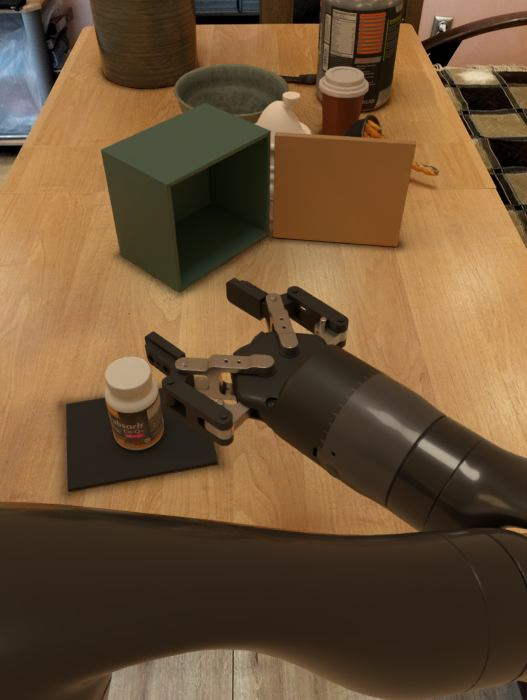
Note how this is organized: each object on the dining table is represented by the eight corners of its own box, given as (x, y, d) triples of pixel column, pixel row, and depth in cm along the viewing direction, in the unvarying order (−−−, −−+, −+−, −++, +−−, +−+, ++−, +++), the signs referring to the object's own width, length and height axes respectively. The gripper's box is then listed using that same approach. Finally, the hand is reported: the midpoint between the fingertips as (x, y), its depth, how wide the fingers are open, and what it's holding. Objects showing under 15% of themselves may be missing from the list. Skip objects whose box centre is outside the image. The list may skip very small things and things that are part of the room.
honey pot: (324, 187, 111) (332, 82, 98) (301, 227, 102) (307, 118, 89) (254, 173, 114) (253, 70, 101) (226, 211, 105) (222, 104, 92)
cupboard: (269, 234, 101) (270, 130, 89) (179, 292, 91) (166, 184, 78) (211, 203, 107) (205, 102, 95) (120, 255, 97) (100, 149, 85)
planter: (194, 90, 138) (187, -13, 124) (92, 89, 138) (72, -15, 124) (203, 51, 154) (198, -45, 139) (111, 50, 154) (96, -46, 140)
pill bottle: (106, 447, 71) (89, 387, 64) (126, 408, 75) (112, 348, 68) (154, 457, 70) (142, 397, 63) (172, 417, 74) (163, 357, 67)
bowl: (250, 104, 133) (249, 55, 126) (308, 146, 121) (311, 93, 114) (160, 129, 125) (154, 77, 118) (212, 176, 113) (209, 122, 106)
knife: (212, 76, 146) (209, 83, 142) (212, 68, 145) (208, 75, 141) (336, 77, 144) (336, 85, 140) (336, 69, 143) (337, 76, 139)
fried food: (353, 117, 119) (449, 107, 109) (355, 179, 122) (449, 174, 112) (330, 116, 112) (431, 105, 102) (333, 182, 115) (431, 176, 105)
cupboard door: (276, 215, 104) (279, 115, 92) (396, 224, 103) (414, 123, 91) (272, 237, 100) (274, 135, 88) (397, 246, 98) (416, 144, 86)
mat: (68, 492, 68) (67, 489, 67) (66, 406, 76) (65, 403, 75) (218, 464, 70) (217, 461, 70) (200, 384, 78) (200, 381, 78)
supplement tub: (349, 76, 144) (362, -57, 126) (404, 99, 136) (427, -40, 117) (299, 96, 136) (305, -43, 118) (354, 121, 128) (370, -23, 110)
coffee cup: (344, 152, 119) (350, 88, 111) (305, 137, 123) (309, 74, 115) (371, 135, 124) (380, 72, 116) (333, 121, 128) (339, 59, 120)
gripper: (427, 328, 44) (252, 234, 51) (291, 456, 36) (110, 324, 44) (408, 400, 49) (252, 305, 57) (287, 525, 41) (126, 396, 49)
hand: (190, 314), depth 50 cm, fingers open, 8 cm apart
